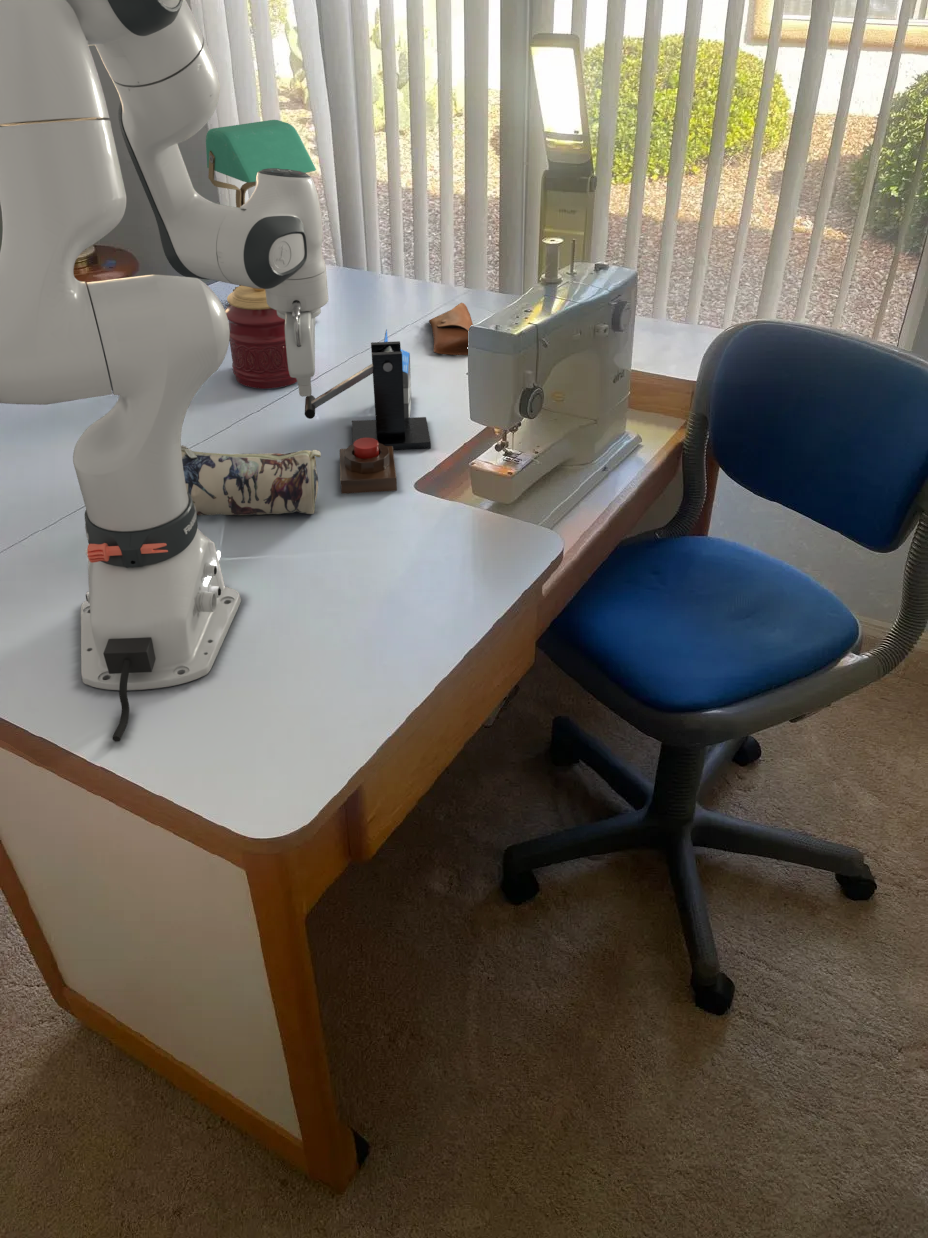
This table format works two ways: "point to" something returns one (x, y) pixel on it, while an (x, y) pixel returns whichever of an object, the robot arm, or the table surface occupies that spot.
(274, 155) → the banker's lamp
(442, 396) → the table surface
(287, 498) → the pencil case
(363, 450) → the button
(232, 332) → the kitchen canister
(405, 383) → the tape cartridge
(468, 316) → the sunglasses case
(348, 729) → the table surface
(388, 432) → the bracket
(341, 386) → the lever
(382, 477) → the control block
